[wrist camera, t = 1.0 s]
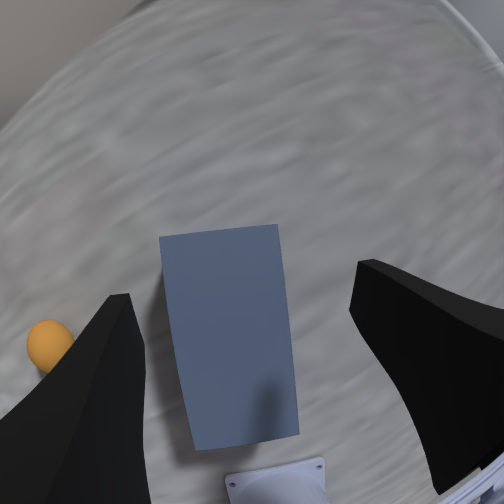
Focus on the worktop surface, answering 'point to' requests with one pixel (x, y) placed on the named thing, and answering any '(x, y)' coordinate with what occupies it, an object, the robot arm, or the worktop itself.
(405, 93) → the worktop surface
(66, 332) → the ball
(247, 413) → the slate blue block
